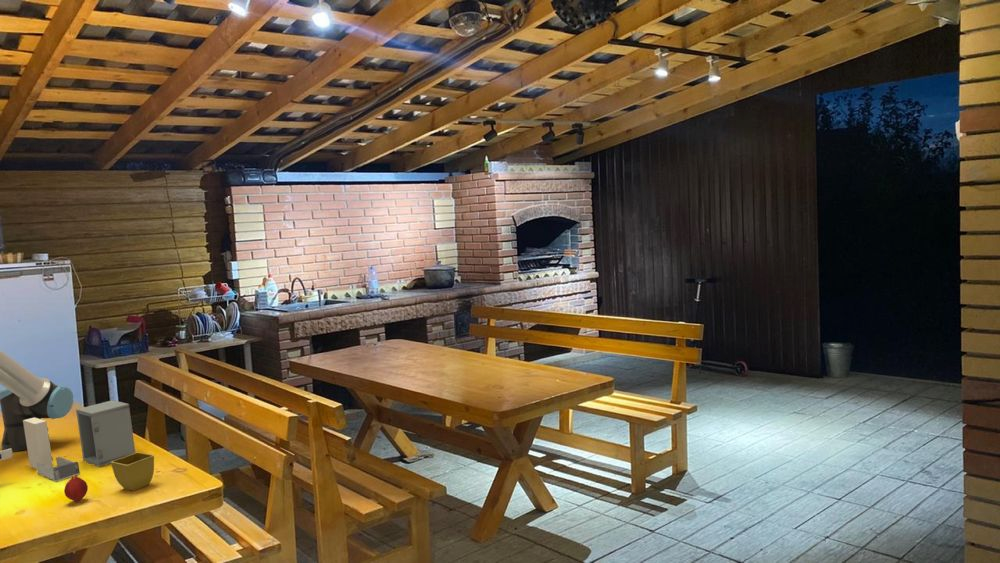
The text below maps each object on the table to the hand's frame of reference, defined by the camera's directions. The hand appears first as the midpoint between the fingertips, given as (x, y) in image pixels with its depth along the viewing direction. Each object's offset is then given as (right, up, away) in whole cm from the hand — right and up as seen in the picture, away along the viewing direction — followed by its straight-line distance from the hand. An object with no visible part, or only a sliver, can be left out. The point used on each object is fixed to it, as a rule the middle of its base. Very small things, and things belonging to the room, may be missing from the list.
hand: (4, 449), depth 241 cm
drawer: (+18, -8, 0) cm, 19 cm away
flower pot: (+52, -7, -18) cm, 55 cm away
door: (+7, -8, +9) cm, 13 cm away
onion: (+39, -9, -26) cm, 48 cm away
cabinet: (+28, -6, +12) cm, 31 cm away
